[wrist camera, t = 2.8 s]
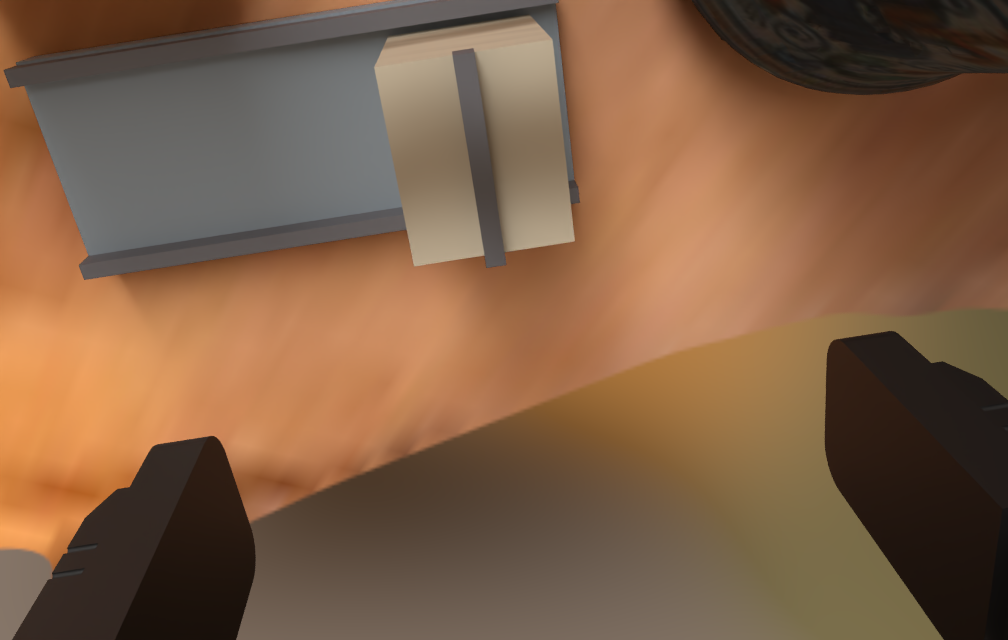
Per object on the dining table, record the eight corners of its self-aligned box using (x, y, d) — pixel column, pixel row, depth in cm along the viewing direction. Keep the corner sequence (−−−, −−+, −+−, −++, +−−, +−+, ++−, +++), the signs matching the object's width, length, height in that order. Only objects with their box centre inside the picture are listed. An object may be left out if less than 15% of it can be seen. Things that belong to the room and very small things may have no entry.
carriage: (387, 33, 30) (371, 68, 23) (528, 11, 30) (555, 39, 23) (420, 201, 32) (413, 279, 25) (549, 181, 32) (579, 253, 25)
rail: (34, 56, 31) (2, 66, 29) (548, -24, 31) (556, -20, 29) (108, 258, 34) (85, 282, 32) (571, 186, 34) (579, 205, 32)
